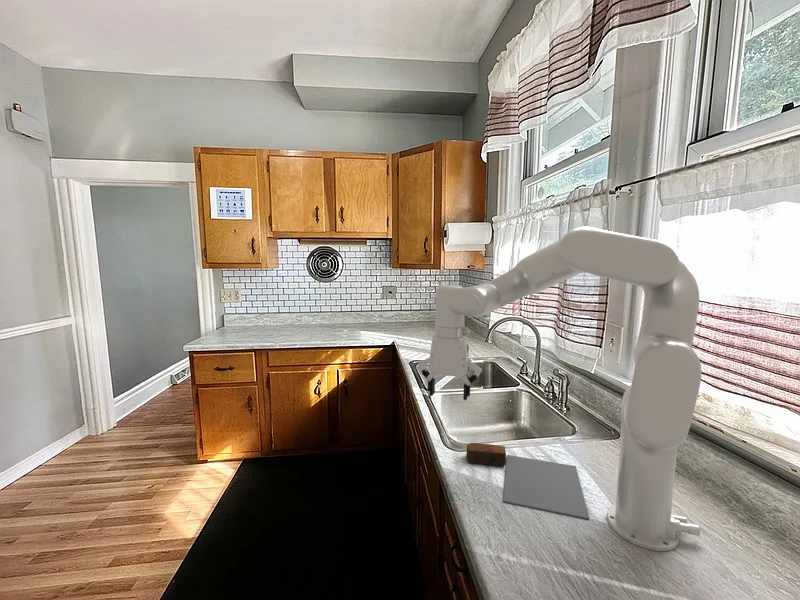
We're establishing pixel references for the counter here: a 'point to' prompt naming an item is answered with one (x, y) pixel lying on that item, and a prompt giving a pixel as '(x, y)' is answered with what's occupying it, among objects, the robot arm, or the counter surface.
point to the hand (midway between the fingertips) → (448, 396)
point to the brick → (486, 454)
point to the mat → (544, 486)
